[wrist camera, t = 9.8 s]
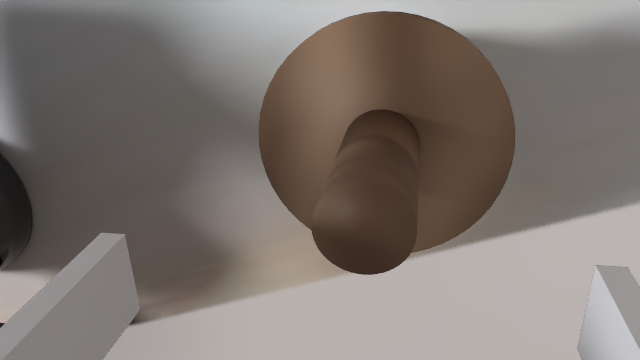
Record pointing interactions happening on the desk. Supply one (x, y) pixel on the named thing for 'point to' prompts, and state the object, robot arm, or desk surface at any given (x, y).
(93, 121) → the desk surface
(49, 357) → the robot arm
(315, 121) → the lid
